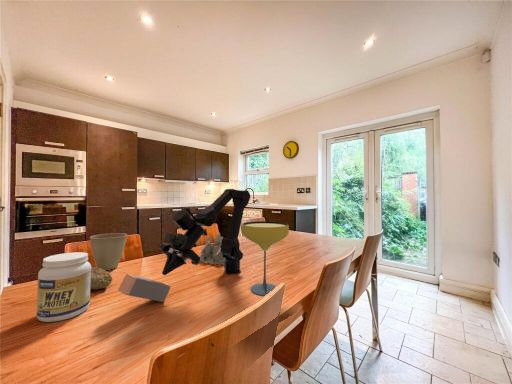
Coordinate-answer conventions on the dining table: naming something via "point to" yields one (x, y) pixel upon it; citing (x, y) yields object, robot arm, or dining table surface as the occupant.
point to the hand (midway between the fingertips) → (163, 274)
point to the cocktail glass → (264, 244)
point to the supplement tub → (63, 286)
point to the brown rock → (99, 278)
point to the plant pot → (108, 249)
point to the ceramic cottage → (212, 251)
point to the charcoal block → (144, 288)
